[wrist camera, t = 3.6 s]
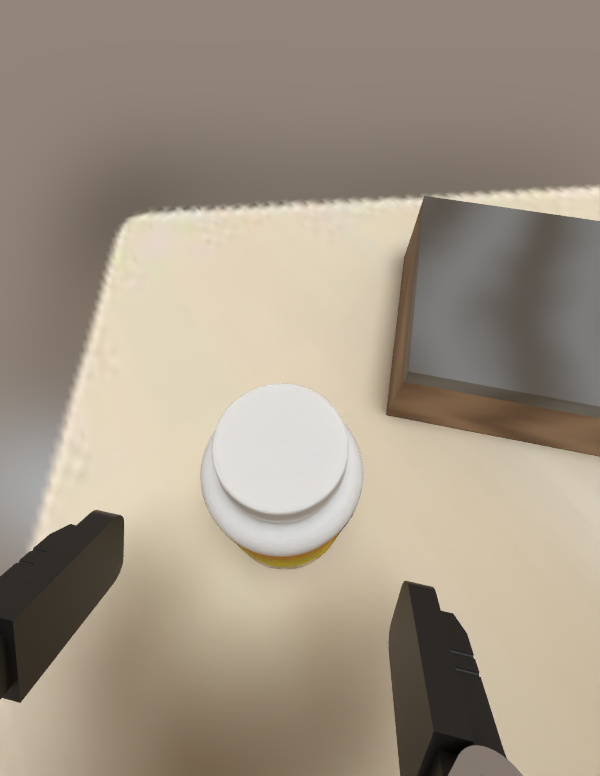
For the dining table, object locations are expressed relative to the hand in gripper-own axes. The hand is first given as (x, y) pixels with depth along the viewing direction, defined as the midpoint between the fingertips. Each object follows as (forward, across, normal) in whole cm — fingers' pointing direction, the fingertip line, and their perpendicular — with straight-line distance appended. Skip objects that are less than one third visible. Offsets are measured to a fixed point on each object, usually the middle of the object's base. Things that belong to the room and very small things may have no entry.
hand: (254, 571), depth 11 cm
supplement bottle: (+9, 0, +4) cm, 9 cm away
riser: (+18, -11, -5) cm, 21 cm away
